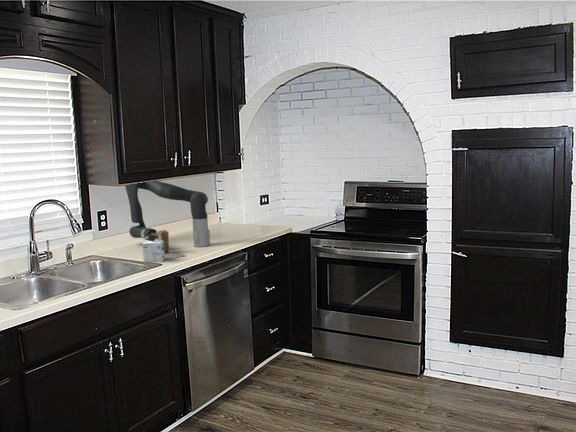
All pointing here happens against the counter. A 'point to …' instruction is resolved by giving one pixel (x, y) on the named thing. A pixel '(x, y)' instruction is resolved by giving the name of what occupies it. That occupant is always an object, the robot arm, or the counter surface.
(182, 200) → the robot arm
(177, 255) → the mat
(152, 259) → the light bulb box
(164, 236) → the walnut block
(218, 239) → the counter surface
